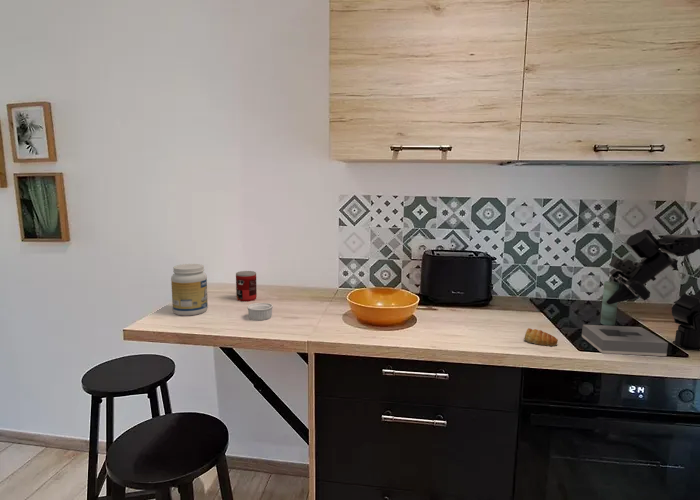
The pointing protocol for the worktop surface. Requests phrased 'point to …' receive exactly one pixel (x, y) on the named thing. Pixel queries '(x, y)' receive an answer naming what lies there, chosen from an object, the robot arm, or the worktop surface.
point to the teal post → (609, 309)
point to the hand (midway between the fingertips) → (605, 301)
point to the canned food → (246, 286)
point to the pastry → (540, 338)
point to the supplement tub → (189, 289)
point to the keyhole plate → (624, 340)
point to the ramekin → (260, 311)
